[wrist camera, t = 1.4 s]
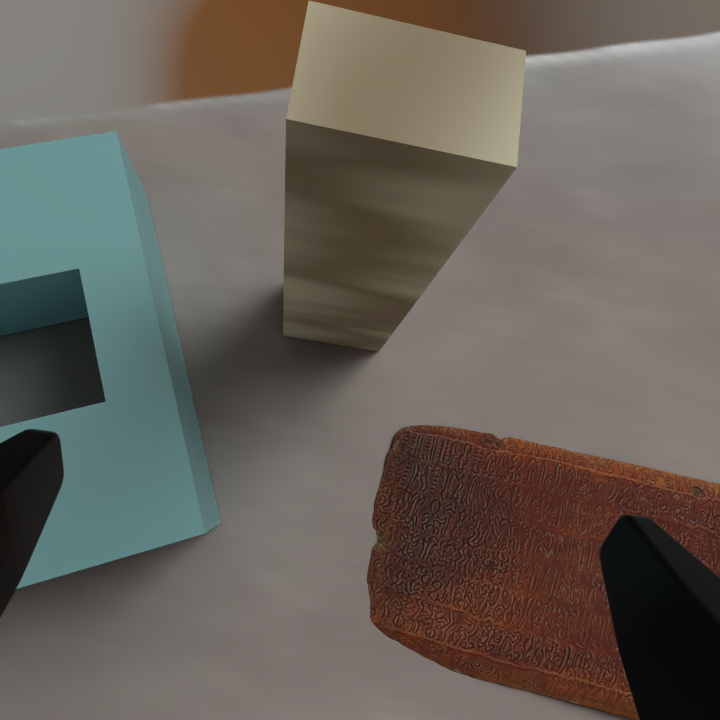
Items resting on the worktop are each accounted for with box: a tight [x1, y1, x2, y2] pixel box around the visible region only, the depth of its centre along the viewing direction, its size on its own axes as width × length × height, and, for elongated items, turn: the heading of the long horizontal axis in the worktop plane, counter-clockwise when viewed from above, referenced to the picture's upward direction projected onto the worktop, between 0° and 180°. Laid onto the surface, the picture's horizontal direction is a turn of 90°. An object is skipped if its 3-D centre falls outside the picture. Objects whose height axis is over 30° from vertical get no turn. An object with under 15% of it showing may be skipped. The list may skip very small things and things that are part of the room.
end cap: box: [0, 131, 221, 589], centre depth 19 cm, size 10×14×4 cm
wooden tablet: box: [367, 425, 720, 720], centre depth 23 cm, size 27×10×2 cm, turn 75°
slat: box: [283, 1, 526, 352], centre depth 16 cm, size 4×2×14 cm, turn 82°
